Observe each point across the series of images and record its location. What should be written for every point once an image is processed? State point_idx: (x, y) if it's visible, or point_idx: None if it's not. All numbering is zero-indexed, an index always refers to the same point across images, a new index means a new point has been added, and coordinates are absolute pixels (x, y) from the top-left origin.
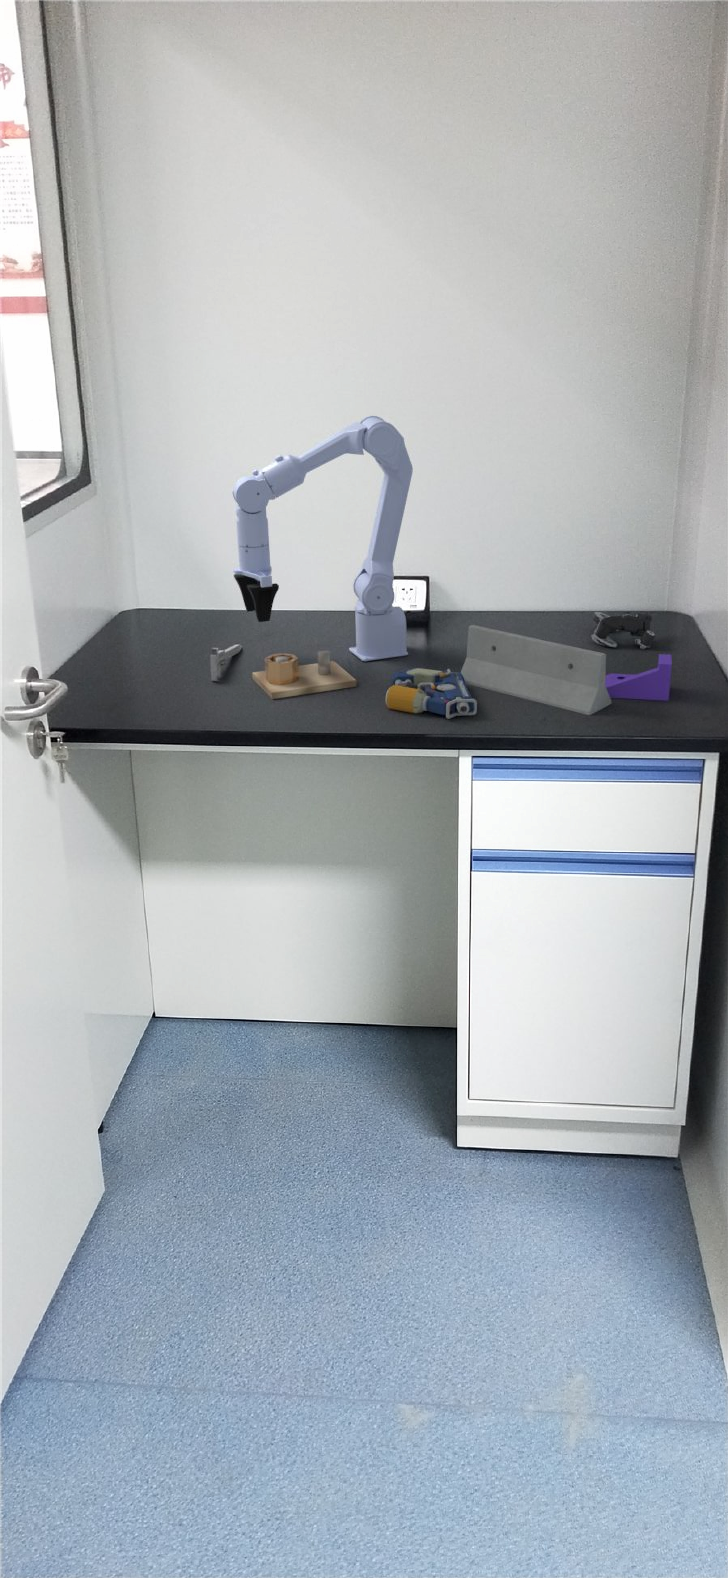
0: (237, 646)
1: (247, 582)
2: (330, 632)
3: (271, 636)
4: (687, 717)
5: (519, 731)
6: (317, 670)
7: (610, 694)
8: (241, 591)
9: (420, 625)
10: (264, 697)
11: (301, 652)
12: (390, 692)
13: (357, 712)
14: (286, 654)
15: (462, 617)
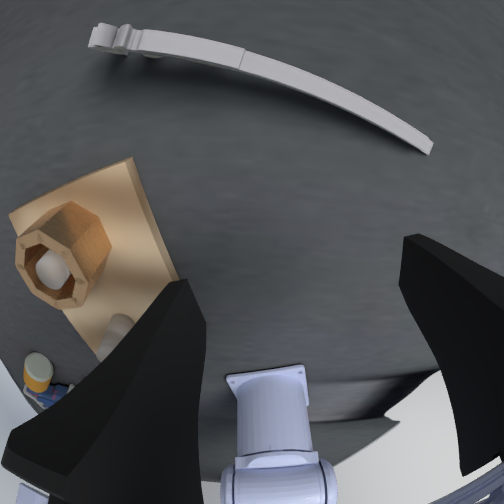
0: (399, 136)
1: (500, 384)
2: (419, 336)
3: (463, 238)
4: None
5: (33, 400)
6: (140, 315)
7: None
8: (500, 286)
9: (371, 414)
10: (22, 192)
11: (332, 290)
12: (25, 369)
13: (12, 320)
14: (79, 290)
15: (371, 432)
